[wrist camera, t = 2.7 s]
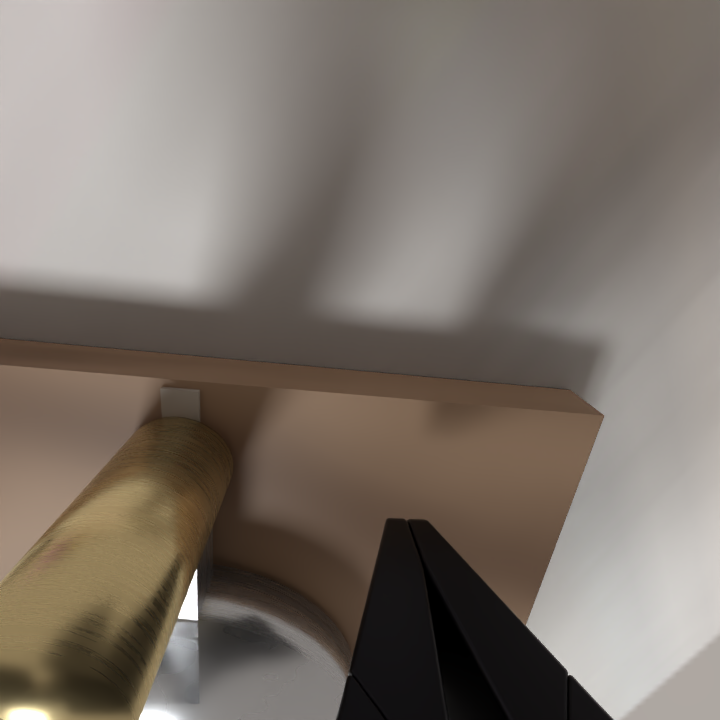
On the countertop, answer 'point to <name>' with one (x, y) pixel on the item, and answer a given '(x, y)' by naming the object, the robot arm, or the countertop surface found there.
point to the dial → (159, 604)
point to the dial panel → (306, 461)
